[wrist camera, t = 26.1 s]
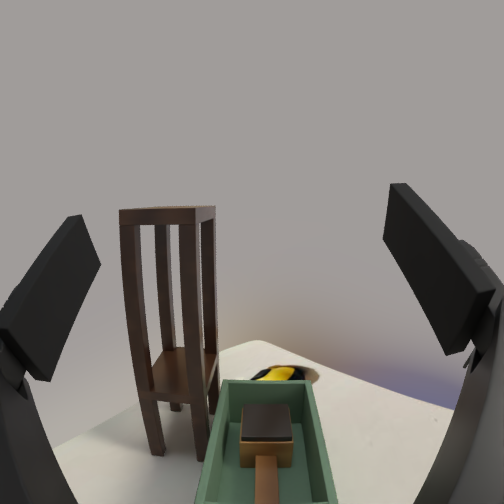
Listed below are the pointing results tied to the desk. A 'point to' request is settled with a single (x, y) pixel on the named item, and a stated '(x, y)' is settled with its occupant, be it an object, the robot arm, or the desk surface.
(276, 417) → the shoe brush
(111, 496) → the desk surface
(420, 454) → the desk surface
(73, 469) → the desk surface
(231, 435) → the bin
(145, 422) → the brown wooden stand
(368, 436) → the desk surface
